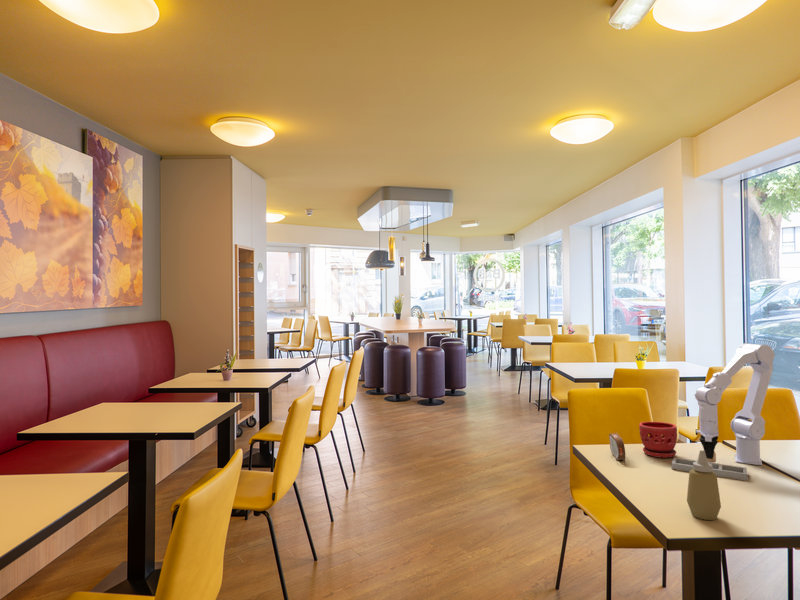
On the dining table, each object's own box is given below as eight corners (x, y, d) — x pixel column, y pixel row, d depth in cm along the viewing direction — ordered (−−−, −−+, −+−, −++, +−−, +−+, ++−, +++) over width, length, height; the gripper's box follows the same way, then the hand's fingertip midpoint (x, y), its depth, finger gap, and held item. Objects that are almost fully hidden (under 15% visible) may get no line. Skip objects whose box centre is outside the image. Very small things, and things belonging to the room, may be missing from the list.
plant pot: (678, 452, 192) (677, 422, 192) (676, 461, 181) (675, 429, 181) (641, 448, 199) (641, 419, 199) (638, 456, 188) (637, 425, 188)
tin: (626, 463, 180) (626, 440, 180) (617, 463, 180) (616, 440, 180) (616, 451, 194) (616, 430, 194) (608, 451, 195) (608, 430, 195)
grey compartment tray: (673, 463, 179) (673, 457, 179) (746, 473, 167) (746, 467, 167) (671, 469, 172) (671, 463, 173) (747, 480, 160) (747, 474, 160)
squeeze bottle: (680, 510, 137) (678, 447, 137) (707, 509, 138) (705, 446, 138) (700, 523, 129) (698, 455, 129) (728, 522, 129) (727, 454, 130)
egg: (703, 458, 182) (703, 446, 182) (716, 460, 179) (715, 448, 179) (703, 461, 178) (702, 449, 178) (715, 463, 176) (715, 450, 176)
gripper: (696, 415, 187) (697, 450, 187) (694, 422, 175) (695, 460, 175) (718, 417, 183) (719, 453, 183) (718, 424, 171) (719, 463, 171)
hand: (709, 456), depth 179 cm, fingers closed on egg, 4 cm apart
